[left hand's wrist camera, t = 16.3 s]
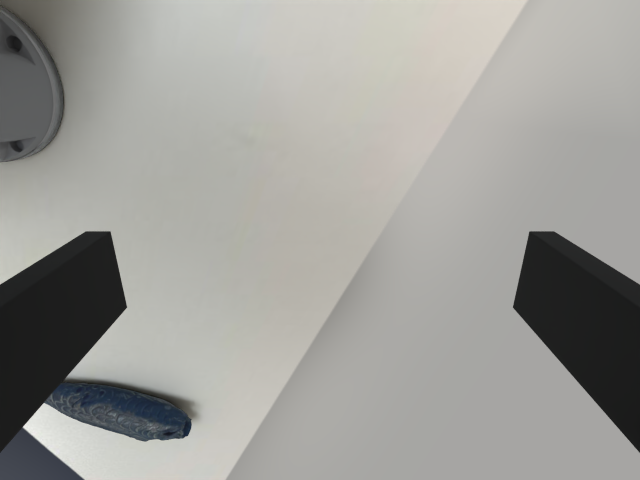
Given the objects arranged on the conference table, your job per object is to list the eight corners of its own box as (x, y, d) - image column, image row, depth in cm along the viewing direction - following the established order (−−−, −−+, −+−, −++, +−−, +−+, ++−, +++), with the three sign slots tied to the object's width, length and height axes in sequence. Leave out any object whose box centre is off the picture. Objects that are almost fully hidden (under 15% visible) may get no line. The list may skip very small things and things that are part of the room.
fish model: (193, 430, 56) (182, 462, 51) (45, 405, 54) (19, 435, 50) (198, 395, 53) (186, 424, 49) (44, 368, 52) (16, 395, 47)
